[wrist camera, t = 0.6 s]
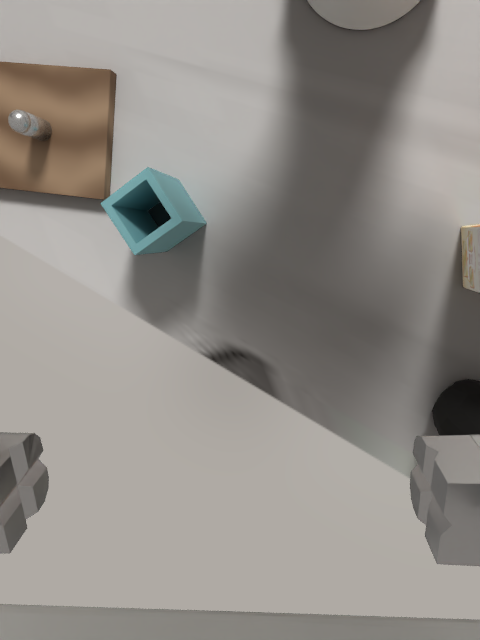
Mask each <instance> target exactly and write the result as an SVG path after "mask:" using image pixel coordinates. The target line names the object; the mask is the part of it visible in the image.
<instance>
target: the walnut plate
mask: <svg viewBox="0 0 480 640" xmlns="http://www.w3.org/2000/svg"><path fill="white" fill-rule="evenodd" d="M115 90H116V74H115V73H114V72H113V71H111V70H107V69H93V68H80V67H66V66H52V65H39V64H25V63H11V62H0V188H6V189H15V190H24V191H33V192H41V193H50V194H59V195H67V196H76V197H85V198H94V199H102V200H105V199H107V198H108V197H109V196H110V181H111V163H112V145H113V126H114V108H115ZM14 110H23V111H26V112H28V113H30V114H33V115H35V116H37V117H40V118H42V119H44V120H46V121H48V122H49V123H50V125H51V127H52V134H51V137H50V138H49V139H48V140H46V141H40V140H37V139H34V138H31V137H28V136H25V135H22V134H20V133H17V132H15V131H14V130H13V129H12V128H11V127H10V125H9V122H8V117H9V115H10V113H11V112H12V111H14Z"/></svg>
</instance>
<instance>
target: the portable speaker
mask: <svg viewBox="0 0 480 640" xmlns="http://www.w3.org/2000/svg"><path fill="white" fill-rule="evenodd" d="M432 412H433V417H434V423H435V426H436V428H437V430H438V433H439V435H440V436H451V435H480V381H476V380H470V379H466V380H462V381H458V382H455V383H454V384H453V385H452V386H450V387H448V388H447V389H446V390H445V391H444V392H443V393H441V395H440V397H439V398H438V400H437V402H436V403H435V405H434V408H433V410H432Z"/></svg>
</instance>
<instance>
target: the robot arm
mask: <svg viewBox="0 0 480 640" xmlns="http://www.w3.org/2000/svg"><path fill="white" fill-rule="evenodd" d="M307 1H308V3H309V4H310V5H311V7H312V8H313V9H314V10H315V11H316V12H317V13H318V14H319V15H320V16H321V17H323V18H324V19H325V20H327V21H329V22H330V23H332V24H335V25H337V26H340V27H343V28H347V29H354V30H366V29H373V28H378V27H381V26H384V25H387V24H389V23H391V22H393V21H395V20H397V19H399V18H400V17H402V16H404V15H405V14H406V13H408V12H409V11H410V10H411V9H412V8H413V7H415V6H416V5H417V4H418V3H419V1H420V0H307ZM42 452H43V447H42V443H41V439H40V437H39V436H38V435H36V434H35V433H3V432H0V553H11V551H12V550H13V548H14V547H15V545H16V544H17V542H18V541H19V539H20V538H21V536H22V535H23V533H24V532H25V530H26V529H27V524H26V519H27V518H29V517H31V516H32V515H34V514H35V513H37V512H38V511H39V509H40V508H41V506H42V505H43V503H44V501H45V498H46V494H47V491H48V481H49V476H48V471H47V467H46V466H45V465H44V464H43V463H42V462H41V461H40V460H39V459H38V458H39V457H40V455H41V453H42ZM413 454H414V456H415V458H416V461H417V463H418V465H417V466H416V467H415V468H414V469H413V470H412V471H411V479H410V489H411V500H412V504H413V508H414V510H415V513H416V515H417V518H418V519H419V520H420V521H422V522H423V523H424V524H426V532H425V537H426V539H427V542H428V544H429V546H430V549H431V551H432V553H433V556H434V558H435V560H436V563H437V564H448V565H467V566H480V435H451V436H416V439H415V442H414V449H413ZM0 640H480V620H469V619H439V618H438V619H437V618H410V617H409V618H408V617H380V616H350V615H321V614H292V613H262V612H232V611H199V610H168V609H135V608H103V607H72V606H41V605H12V604H0Z"/></svg>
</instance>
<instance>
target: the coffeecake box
mask: <svg viewBox="0 0 480 640" xmlns="http://www.w3.org/2000/svg"><path fill="white" fill-rule="evenodd" d="M461 242H462V271H463V288H466V289H469V290H472V291H475V292H478V293H480V224H477V225H470V226H463V227H461Z"/></svg>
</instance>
